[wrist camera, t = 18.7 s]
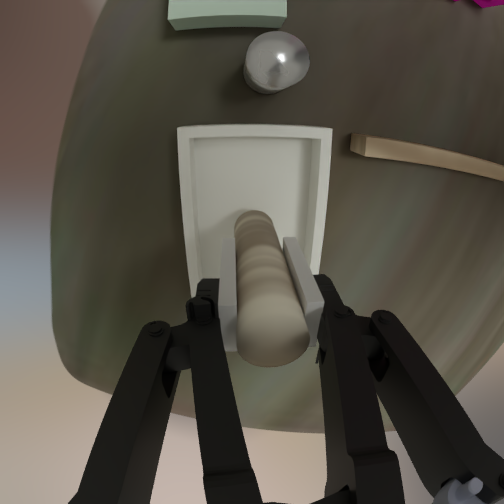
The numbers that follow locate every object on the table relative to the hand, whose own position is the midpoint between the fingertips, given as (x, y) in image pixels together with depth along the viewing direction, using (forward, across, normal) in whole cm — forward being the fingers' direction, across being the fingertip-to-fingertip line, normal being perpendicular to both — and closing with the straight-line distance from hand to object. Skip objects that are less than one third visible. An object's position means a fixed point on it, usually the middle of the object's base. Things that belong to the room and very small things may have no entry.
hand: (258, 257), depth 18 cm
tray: (+7, 0, 0) cm, 7 cm away
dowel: (+5, 0, 0) cm, 5 cm away
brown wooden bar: (+7, +19, +7) cm, 21 cm away
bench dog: (+7, +1, +12) cm, 14 cm away
